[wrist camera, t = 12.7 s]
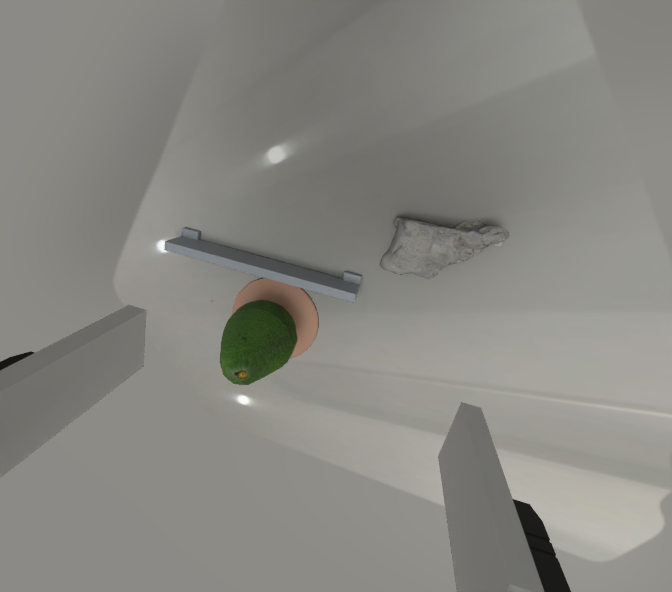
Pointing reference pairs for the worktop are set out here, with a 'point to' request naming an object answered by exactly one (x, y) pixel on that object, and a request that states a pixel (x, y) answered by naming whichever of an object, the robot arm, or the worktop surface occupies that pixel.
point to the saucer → (285, 307)
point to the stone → (437, 245)
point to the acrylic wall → (264, 266)
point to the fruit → (256, 341)
